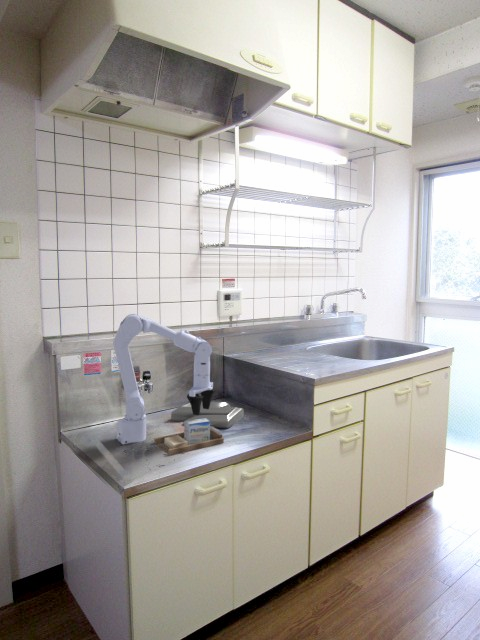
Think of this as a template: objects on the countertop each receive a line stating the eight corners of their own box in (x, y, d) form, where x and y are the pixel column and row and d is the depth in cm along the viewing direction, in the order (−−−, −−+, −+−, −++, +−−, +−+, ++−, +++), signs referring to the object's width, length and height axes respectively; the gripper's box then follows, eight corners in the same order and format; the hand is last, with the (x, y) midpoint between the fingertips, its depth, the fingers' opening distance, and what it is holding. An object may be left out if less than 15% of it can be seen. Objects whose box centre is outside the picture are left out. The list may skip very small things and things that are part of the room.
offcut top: (173, 450, 139) (173, 444, 139) (164, 443, 145) (164, 438, 145) (187, 447, 142) (187, 441, 142) (178, 440, 148) (178, 435, 148)
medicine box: (188, 449, 145) (188, 424, 144) (183, 444, 148) (184, 420, 148) (210, 445, 148) (210, 421, 147) (205, 441, 152) (205, 417, 151)
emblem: (194, 422, 156) (162, 403, 179) (194, 437, 157) (162, 415, 179) (256, 410, 172) (219, 394, 195) (256, 424, 172) (219, 405, 195)
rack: (169, 459, 136) (169, 447, 136) (154, 446, 146) (154, 435, 146) (223, 447, 147) (223, 435, 147) (206, 435, 157) (206, 425, 157)
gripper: (202, 379, 145) (201, 419, 146) (220, 371, 158) (220, 407, 159) (183, 377, 147) (183, 416, 149) (203, 369, 161) (202, 405, 162)
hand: (201, 411), depth 154 cm, fingers open, 7 cm apart
